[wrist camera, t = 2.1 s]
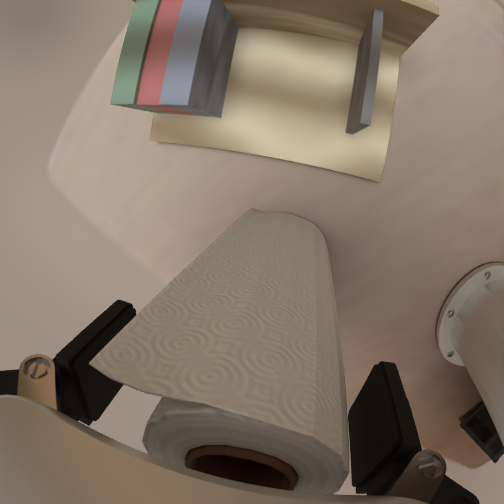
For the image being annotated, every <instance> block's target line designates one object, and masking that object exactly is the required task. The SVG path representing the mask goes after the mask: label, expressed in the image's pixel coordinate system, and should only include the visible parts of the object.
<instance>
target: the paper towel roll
mask: <svg viewBox="0 0 504 504" xmlns="http://www.w3.org/2000/svg"><path fill="white" fill-rule="evenodd" d="M89 364H90V365H91V366H92V367H94V368H95V369H97V370H98V371H100V372H101V373H103V374H104V375H106V376H107V377H109V378H110V379H112V380H115V381H117V382H119V383H122V384H124V385H126V386H129V387H131V388H134V389H136V390H139V391H141V392H144V393H148V394H152V395H157V396H162V398H161V400H160V402H159V404H158V405H157V407H156V408H155V410H154V411H153V413H152V415H151V416H150V418H149V420H148V421H147V425H146V428H145V432H144V436H143V440H142V442H143V444H144V446H145V448H146V450H147V453H148V454H149V455H151V456H154V457H157V458H159V459H162V460H165V461H168V462H170V463H173V464H176V465H179V466H182V467H185V468H189V469H192V470H195V471H199V472H202V473H206V474H209V475H213V476H217V477H221V478H225V479H229V480H233V481H238V482H242V483H247V484H252V485H257V486H263V487H269V488H275V489H282V490H289V491H298V492H307V493H320V494H334V493H335V492H337V491H339V489H340V488H341V486H342V485H343V483H344V481H345V479H346V478H347V476H348V474H349V438H348V418H347V402H346V389H345V377H344V366H343V356H342V347H341V338H340V329H339V321H338V314H337V306H336V299H335V292H334V285H333V279H332V273H331V266H330V260H329V254H328V249H327V244H326V241H325V238H324V235H323V233H322V232H321V231H320V230H319V228H318V227H317V226H316V225H315V224H314V223H312V222H310V221H308V220H306V219H303V218H301V217H298V216H295V215H292V214H290V213H287V212H283V213H266V212H260V211H257V210H255V209H253V208H251V209H250V210H248V211H247V212H246V213H245V214H244V215H243V216H242V217H241V218H240V219H238V220H237V221H236V222H235V223H234V224H233V225H232V226H231V227H230V228H228V229H227V230H226V231H225V232H224V233H223V234H222V235H221V236H220V237H219V238H218V239H216V240H215V241H214V242H213V243H212V244H211V245H210V246H209V247H208V248H207V249H206V250H204V251H203V252H202V253H201V254H200V255H199V256H198V257H197V258H196V259H195V260H194V261H193V262H192V263H191V264H189V265H188V266H187V267H186V268H185V269H184V270H183V271H182V272H181V273H180V274H179V275H178V276H177V277H176V278H175V279H174V280H172V281H171V282H170V283H169V284H168V285H167V286H166V287H165V288H164V289H163V290H162V291H161V292H160V293H159V294H158V295H157V296H156V297H155V298H154V299H153V300H152V301H151V302H150V303H149V304H147V305H146V306H145V307H144V308H143V309H142V310H141V311H140V312H139V313H138V314H137V315H136V316H135V317H134V318H133V319H132V320H131V321H130V322H129V323H128V324H127V325H126V326H125V327H124V328H123V329H122V330H121V331H120V332H119V333H118V334H117V335H116V336H115V337H114V338H113V339H112V340H111V341H110V342H109V343H108V344H107V345H106V346H105V347H104V348H103V349H102V350H101V351H100V352H99V353H98V354H97V355H96V356H95V357H94V358H93V359H92V360H91V361H90V362H89Z"/></svg>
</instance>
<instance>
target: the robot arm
mask: <svg viewBox="0 0 504 504" xmlns="http://www.w3.org/2000/svg"><path fill="white" fill-rule="evenodd" d="M135 316H136V310H135V309H134V308H133V305H132V304H131V303H128V302H125V301H122V300H117V301H116V302H114V303H113V304H112V305H111V306H110V307H109V308H108V309H107V310H106V311H104V312H103V313H102V314H101V315H100V316H99V317H97V318H96V319H95V320H94V321H93V322H92V323H91V324H89V325H88V326H87V327H86V328H85V329H84V330H83V331H82V332H81V333H79V334H78V335H77V336H76V337H75V338H74V339H73V340H72V341H71V342H70V343H68V344H67V345H66V346H65V347H64V348H63V349H62V350H61V351H60V352H59V353H58V354H57V355H56V357H55V358H54V359H53V360H52V359H51V358H49V357H48V356H45V355H42V354H35V355H31V356H28V357H27V358H25V359H24V360H23V361H22V363H21V364H20V368H19V369H18V370H6V371H0V504H479V500H478V499H477V497H476V496H475V495H474V494H472V493H471V492H469V491H468V490H466V489H465V488H463V487H462V486H460V485H459V484H457V483H456V482H455V481H453V480H452V479H450V478H449V477H447V476H446V475H445V473H446V462H445V460H444V458H443V457H442V456H441V455H440V454H439V453H438V452H436V451H433V450H428V449H426V450H422V448H421V444H420V440H419V436H418V433H417V429H416V425H415V422H414V418H413V415H412V411H411V408H410V405H409V401H408V399H407V398H406V395H405V391H404V388H403V385H402V382H401V379H400V376H399V373H398V370H397V367H396V364H395V363H391V362H383V361H381V362H380V363H379V364H378V365H377V364H376V365H374V367H373V369H372V370H371V372H370V374H369V376H368V378H367V380H366V382H365V384H364V385H363V387H362V389H361V391H360V393H359V394H358V396H357V398H356V400H355V401H354V403H353V405H352V406H351V408H350V410H349V414H348V424H349V438H350V453H351V474H352V486H353V487H356V493H357V494H360V493H361V494H365V493H366V494H367V495H334V494H320V493H307V492H298V491H289V490H282V489H275V488H269V487H263V486H257V485H252V484H247V483H242V482H238V481H233V480H229V479H225V478H221V477H217V476H213V475H209V474H206V473H202V472H199V471H195V470H192V469H189V468H185V467H182V466H179V465H176V464H173V463H170V462H168V461H165V460H162V459H159V458H157V457H154V456H151V455H149V454H146V453H144V452H141V451H139V450H136V449H134V448H132V447H129V446H127V445H125V444H122V443H120V442H118V441H116V440H114V439H112V438H110V437H108V436H105V435H103V434H101V433H99V432H97V431H95V430H93V429H91V428H89V427H87V426H85V425H84V424H82V423H80V422H78V421H79V420H80V421H81V422H83V423H85V424H87V425H88V426H89V425H90V424H91V423H92V422H93V420H94V421H97V420H98V419H99V418H100V416H101V415H102V413H103V412H104V411H105V409H106V407H108V405H109V404H110V402H111V401H112V400H113V398H114V397H115V395H116V394H117V393H118V391H119V390H120V389H121V387H122V386H123V385H124V384H122V383H119V382H117V381H115V380H112V379H110V378H109V377H107V376H106V375H104V374H103V373H101V372H100V371H98V370H97V369H95V368H94V367H92V366H91V365H90V364H89V362H90V361H91V360H92V359H93V358H94V357H95V356H96V355H97V354H98V353H99V352H100V351H101V350H102V349H103V348H104V347H105V346H106V345H107V344H108V343H109V342H110V341H111V340H112V339H113V338H114V337H115V336H116V335H117V334H118V333H119V332H120V331H121V330H122V329H123V328H124V327H125V326H126V325H127V324H128V323H129V322H130V321H131V320H132V319H133V318H134V317H135ZM436 339H437V343H438V347H439V349H440V351H441V353H442V355H443V356H444V358H445V359H446V360H447V361H449V362H450V363H452V364H455V365H457V366H465V367H466V369H467V371H468V373H469V374H470V376H471V378H472V380H473V382H474V384H475V386H476V388H477V390H478V392H479V394H480V396H481V398H482V400H483V402H484V404H485V406H486V408H487V410H488V412H489V414H490V416H491V418H492V421H493V423H494V425H495V427H496V430H497V432H498V434H499V437H500V439H501V441H502V444H503V446H504V264H503V263H489V264H485V265H483V266H481V267H479V268H476V269H475V270H474V271H472V272H471V273H469V274H468V275H467V276H466V277H465V278H463V279H462V280H461V281H460V282H459V283H458V285H457V286H456V287H455V288H454V289H453V291H452V292H451V294H450V295H449V297H448V298H447V300H446V302H445V304H444V306H443V308H442V310H441V312H440V316H439V319H438V323H437V329H436Z"/></svg>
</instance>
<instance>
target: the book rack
mask: <svg viewBox="0 0 504 504" xmlns="http://www.w3.org/2000/svg"><path fill="white" fill-rule="evenodd" d="M133 1H134V2H136V3H135V6H134V9H133V12H132V15H131V18H130V22H129V25H128V28H127V32H126V35H125V39H124V43H123V47H122V51H121V55H120V59H119V63H118V68H117V72H116V77H115V82H114V87H113V92H112V98H111V105H117V106H123V107H128V108H134V109H139V110H144V111H149V112H154V115H153V121H152V127H151V134H150V141H155V142H167V143H177V144H186V145H195V146H203V147H210V148H218V149H225V150H232V151H238V152H244V153H251V154H256V155H262V156H268V157H273V158H279V159H284V160H289V161H294V162H299V163H303V164H308V165H313V166H317V167H322V168H326V169H330V170H335V171H339V172H343V173H347V174H351V175H355V176H359V177H362V178H366V179H370V180H374V181H377V182H380V181H381V177H382V172H383V167H384V163H385V158H386V152H387V147H388V142H389V136H390V130H391V124H392V118H393V111H394V104H395V97H396V89H397V80H398V71H399V60H400V57H401V55H402V54H403V53H404V52H405V51H406V50H407V49H408V48H409V47H410V46H411V45H412V44H413V43H414V42H415V41H416V39H417V38H418V37H419V36H420V35H421V34H422V33H423V32H424V31H425V30H426V29H427V28H428V27H429V26H430V25H431V24H432V23H433V22H434V21H435V20H436V18H437V17H438V16H439V6H438V5H436V4H434V3H431V2H429V1H427V0H133Z"/></svg>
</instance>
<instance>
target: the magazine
mask: <svg viewBox="0 0 504 504" xmlns="http://www.w3.org/2000/svg"><path fill="white" fill-rule="evenodd" d="M460 427H461V428H462V429H464V430H465V431H466V432H467V433H468V435H469V436H470V437H471V438H472V439H473V440H474V441H475V442H476V443H477V444H478V445H479V447H480V448H481V449H482V450H483V451H484V452H485V453H486V454H487V455H488V456H489V457H490V458H491V459H492V461H493V462H494V463H496V462H497V461H498V460H499V458H500V457H501V456H502V455H503V454H504V446H503V444H502V441H501V439H500V437H499V434H498V432H497V430H496V427H495V425H494V423H493V421H492V418H491V416H490V414H489V412H488V410H487V408H486V406H485V404H484V403H483V404H482V405H481V406H480V407H479V408H478V409H477V410H476V411H475V412H474V413H473V414H472V415H471V416H469V417H468V418H467V419H466V420H465V421H464V422H463V423H461V424H460Z"/></svg>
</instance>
